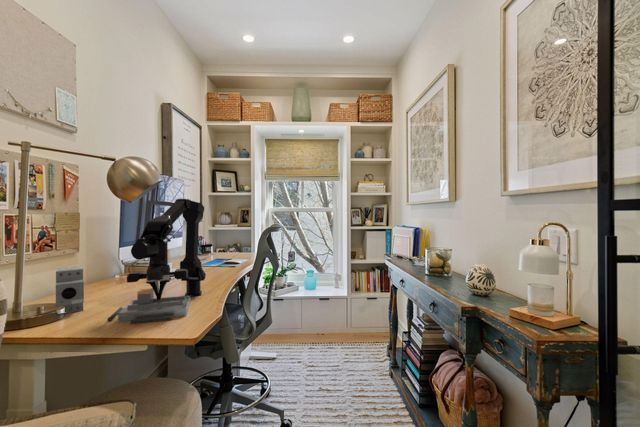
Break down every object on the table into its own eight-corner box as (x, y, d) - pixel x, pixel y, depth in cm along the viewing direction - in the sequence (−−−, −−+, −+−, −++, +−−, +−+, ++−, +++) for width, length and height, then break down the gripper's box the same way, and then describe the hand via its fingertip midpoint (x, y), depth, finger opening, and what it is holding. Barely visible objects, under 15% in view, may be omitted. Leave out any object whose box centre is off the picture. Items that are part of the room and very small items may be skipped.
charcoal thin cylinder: (129, 324, 98) (129, 320, 98) (130, 323, 99) (130, 319, 99) (171, 320, 102) (171, 316, 102) (172, 319, 103) (172, 315, 103)
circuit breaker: (55, 319, 103) (55, 274, 103) (56, 309, 114) (56, 268, 114) (84, 314, 108) (83, 271, 108) (82, 305, 119) (82, 266, 119)
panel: (132, 308, 115) (132, 297, 115) (190, 303, 121) (190, 292, 121) (118, 322, 100) (118, 309, 100) (186, 315, 106) (185, 304, 106)
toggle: (141, 302, 111) (141, 289, 111) (153, 301, 112) (153, 288, 112) (137, 306, 106) (137, 292, 106) (150, 305, 108) (150, 291, 108)
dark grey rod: (119, 310, 112) (119, 307, 112) (123, 310, 112) (123, 307, 112) (107, 321, 101) (107, 317, 101) (111, 321, 101) (111, 317, 101)
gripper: (121, 260, 100) (122, 308, 100) (184, 257, 106) (185, 303, 106) (131, 255, 111) (131, 299, 111) (187, 253, 116) (188, 295, 116)
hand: (158, 299), depth 111 cm, fingers closed
